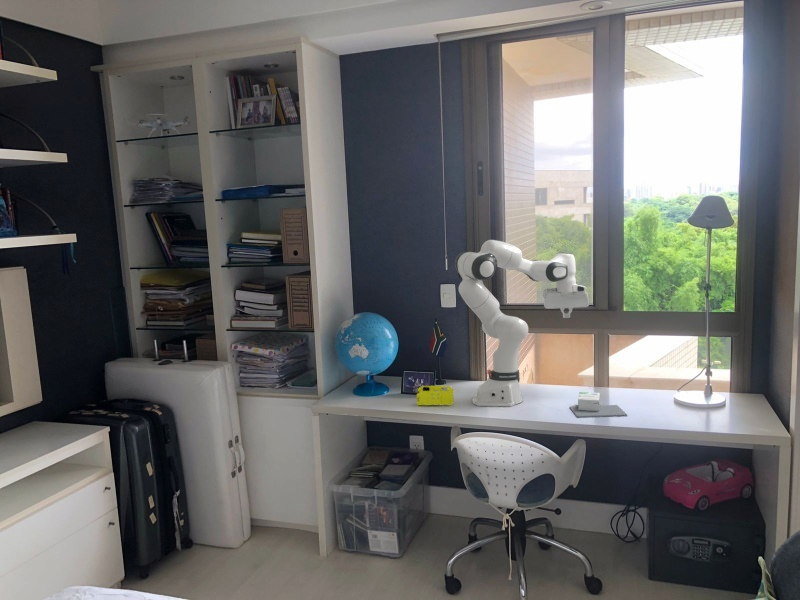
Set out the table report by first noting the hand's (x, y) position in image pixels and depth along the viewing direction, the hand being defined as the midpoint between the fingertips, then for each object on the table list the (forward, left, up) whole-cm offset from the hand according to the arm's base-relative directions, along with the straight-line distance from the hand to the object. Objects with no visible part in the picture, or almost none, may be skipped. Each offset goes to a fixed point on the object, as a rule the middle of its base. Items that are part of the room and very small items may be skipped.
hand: (566, 317), depth 296 cm
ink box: (+5, -22, -32) cm, 39 cm away
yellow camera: (-62, -14, -36) cm, 73 cm away
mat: (+5, -33, -35) cm, 48 cm away
